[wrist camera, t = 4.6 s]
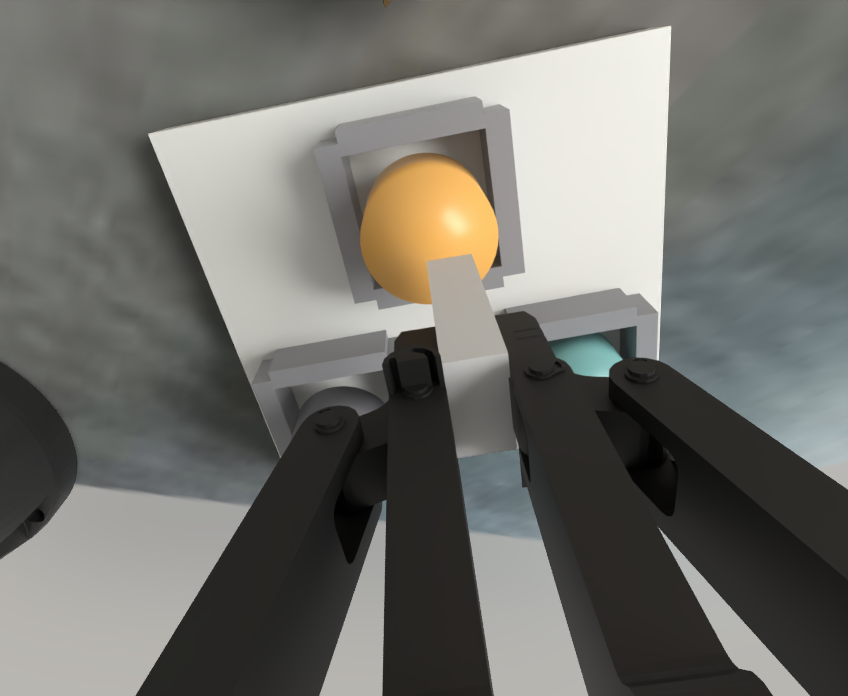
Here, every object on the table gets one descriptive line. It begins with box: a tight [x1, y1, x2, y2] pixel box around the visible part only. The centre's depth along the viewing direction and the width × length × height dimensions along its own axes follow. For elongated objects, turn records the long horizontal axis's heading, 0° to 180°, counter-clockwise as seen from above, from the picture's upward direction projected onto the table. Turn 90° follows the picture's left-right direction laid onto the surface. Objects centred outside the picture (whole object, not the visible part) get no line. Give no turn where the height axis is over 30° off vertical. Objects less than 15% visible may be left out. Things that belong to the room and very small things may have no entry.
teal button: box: [548, 332, 623, 377], centre depth 27 cm, size 5×5×4 cm
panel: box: [148, 26, 671, 458], centre depth 27 cm, size 22×20×4 cm
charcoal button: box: [290, 386, 385, 442], centre depth 26 cm, size 5×5×4 cm
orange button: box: [360, 153, 498, 304], centre depth 21 cm, size 5×5×4 cm
